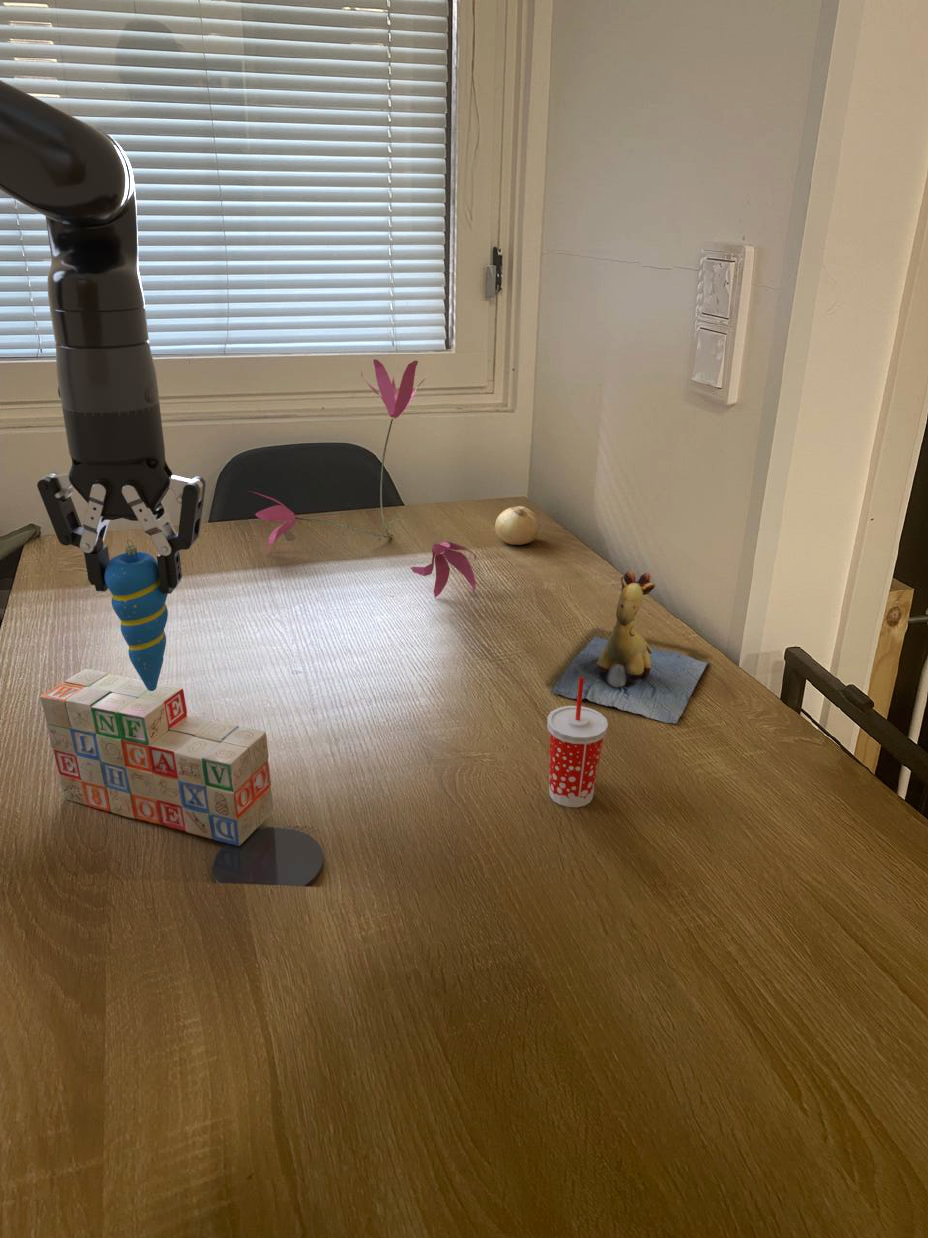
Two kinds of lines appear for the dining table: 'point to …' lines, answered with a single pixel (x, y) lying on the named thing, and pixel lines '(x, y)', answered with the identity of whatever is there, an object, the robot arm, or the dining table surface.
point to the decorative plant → (395, 408)
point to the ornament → (139, 610)
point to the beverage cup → (574, 752)
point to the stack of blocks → (156, 757)
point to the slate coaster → (270, 859)
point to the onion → (517, 526)
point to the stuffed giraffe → (632, 666)
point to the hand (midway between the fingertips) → (136, 588)
